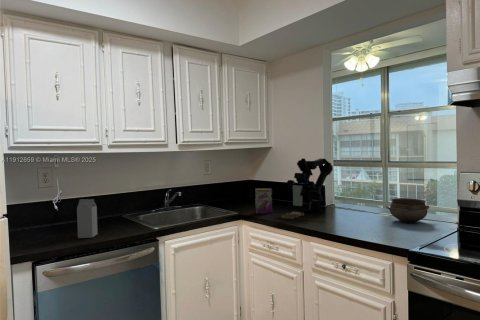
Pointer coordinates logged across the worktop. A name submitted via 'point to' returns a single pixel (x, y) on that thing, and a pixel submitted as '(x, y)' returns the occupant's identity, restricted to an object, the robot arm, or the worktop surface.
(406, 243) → the worktop surface
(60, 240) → the worktop surface
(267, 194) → the candy bar box
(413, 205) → the cooking pot
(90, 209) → the milk carton
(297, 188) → the panel
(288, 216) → the rack
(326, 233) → the worktop surface
